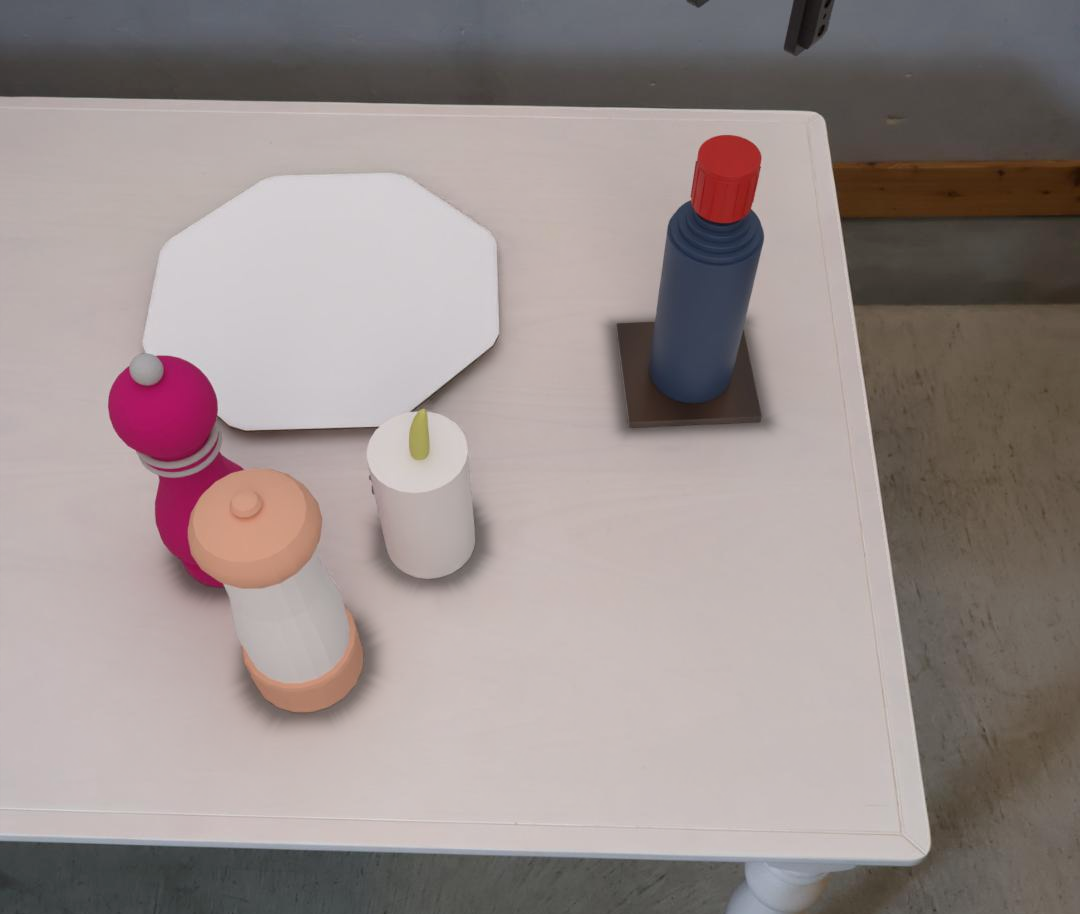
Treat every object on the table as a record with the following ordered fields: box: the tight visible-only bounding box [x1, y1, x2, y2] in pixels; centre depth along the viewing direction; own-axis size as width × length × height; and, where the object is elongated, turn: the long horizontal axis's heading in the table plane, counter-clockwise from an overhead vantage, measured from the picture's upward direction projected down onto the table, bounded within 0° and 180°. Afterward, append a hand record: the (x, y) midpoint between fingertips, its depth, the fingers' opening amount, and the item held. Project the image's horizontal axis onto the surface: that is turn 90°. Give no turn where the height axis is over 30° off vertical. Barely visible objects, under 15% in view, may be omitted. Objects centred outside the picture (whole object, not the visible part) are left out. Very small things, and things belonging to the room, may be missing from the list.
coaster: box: [615, 321, 763, 429], centre depth 86 cm, size 10×10×1 cm
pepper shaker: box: [188, 468, 365, 713], centre depth 65 cm, size 7×7×19 cm
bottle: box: [649, 199, 765, 403], centre depth 77 cm, size 6×6×20 cm
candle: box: [366, 408, 476, 580], centre depth 71 cm, size 6×6×15 cm
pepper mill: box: [107, 352, 245, 588], centre depth 69 cm, size 7×7×20 cm
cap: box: [690, 134, 762, 223], centre depth 70 cm, size 4×4×4 cm
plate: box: [141, 172, 500, 433], centre depth 89 cm, size 28×28×2 cm
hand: (749, 21), depth 61 cm, fingers open, 6 cm apart
